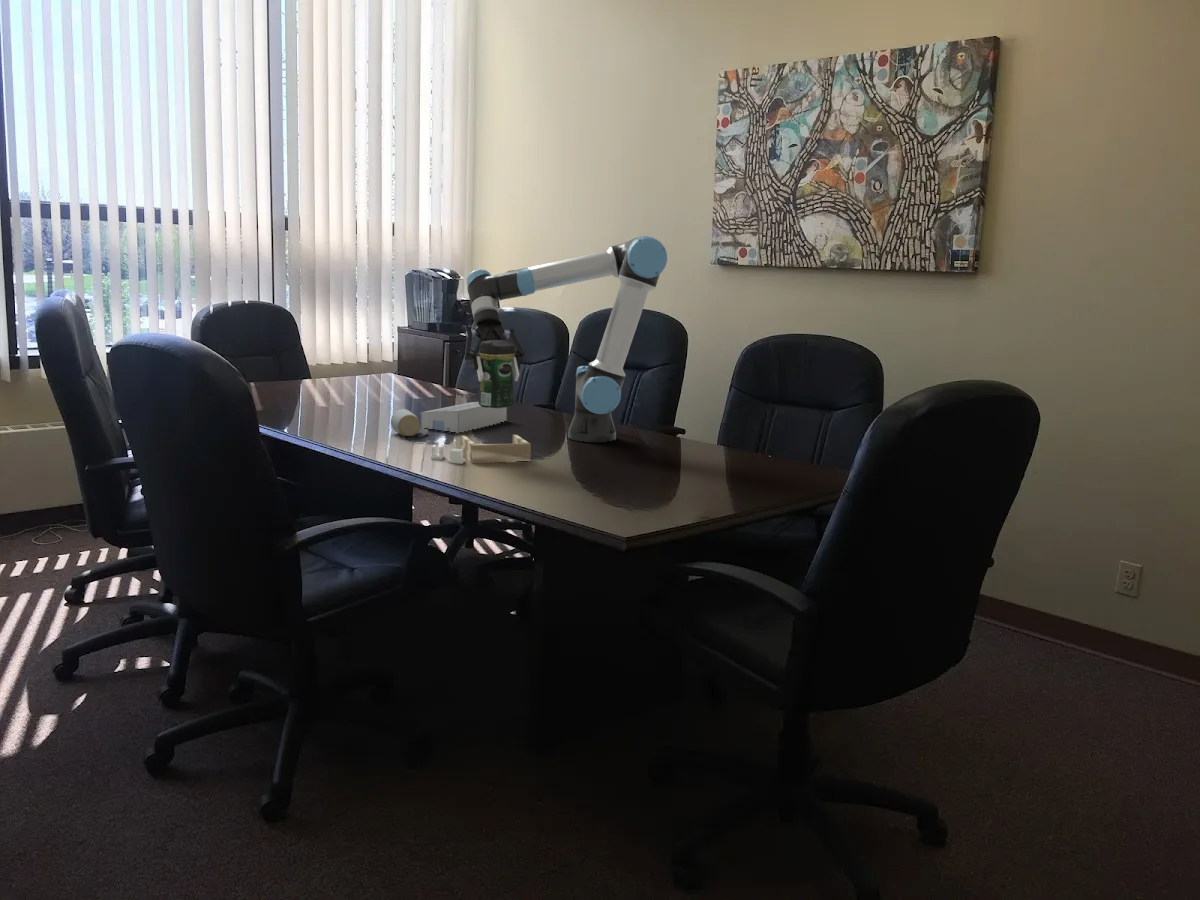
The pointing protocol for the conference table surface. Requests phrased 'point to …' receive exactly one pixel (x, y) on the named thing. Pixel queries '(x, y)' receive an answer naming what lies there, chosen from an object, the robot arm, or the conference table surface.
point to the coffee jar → (496, 374)
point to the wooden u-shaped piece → (496, 451)
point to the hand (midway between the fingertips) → (499, 378)
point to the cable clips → (455, 455)
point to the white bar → (462, 417)
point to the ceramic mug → (406, 423)
